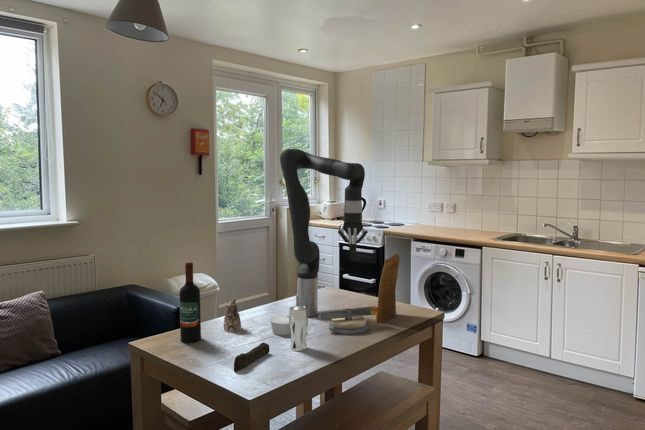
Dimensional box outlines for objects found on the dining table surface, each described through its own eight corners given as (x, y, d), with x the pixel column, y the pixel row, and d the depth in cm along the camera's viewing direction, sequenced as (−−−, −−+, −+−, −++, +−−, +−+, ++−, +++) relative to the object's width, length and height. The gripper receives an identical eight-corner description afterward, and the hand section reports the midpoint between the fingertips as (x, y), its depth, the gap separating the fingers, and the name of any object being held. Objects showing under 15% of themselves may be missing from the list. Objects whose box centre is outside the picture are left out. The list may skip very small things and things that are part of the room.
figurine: (219, 330, 197) (219, 301, 196) (230, 325, 204) (230, 297, 202) (233, 333, 194) (233, 303, 193) (244, 327, 200) (244, 299, 199)
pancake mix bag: (403, 314, 219) (404, 253, 217) (384, 325, 204) (385, 260, 201) (390, 312, 223) (390, 252, 221) (370, 322, 207) (371, 258, 205)
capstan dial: (314, 321, 202) (314, 307, 202) (369, 316, 210) (369, 302, 210) (325, 332, 189) (325, 316, 189) (383, 326, 197) (383, 311, 196)
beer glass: (305, 352, 173) (305, 311, 172) (286, 351, 174) (286, 310, 173) (309, 345, 180) (309, 306, 179) (291, 344, 181) (291, 305, 180)
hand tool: (260, 352, 174) (260, 339, 174) (270, 353, 172) (269, 341, 172) (227, 371, 157) (227, 357, 157) (237, 373, 155) (236, 359, 155)
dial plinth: (326, 333, 193) (326, 329, 193) (332, 321, 209) (332, 317, 209) (365, 335, 190) (365, 331, 190) (369, 323, 206) (369, 319, 206)
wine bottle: (204, 337, 188) (203, 261, 186) (193, 344, 181) (191, 265, 179) (188, 335, 191) (186, 260, 188) (176, 341, 184) (174, 264, 181)
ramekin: (303, 331, 196) (303, 319, 195) (283, 338, 188) (283, 325, 187) (285, 325, 204) (285, 313, 203) (264, 332, 195) (264, 319, 195)
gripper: (369, 210, 202) (369, 251, 204) (338, 210, 205) (338, 250, 207) (368, 212, 195) (367, 254, 197) (335, 211, 198) (335, 253, 199)
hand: (352, 252), depth 202 cm, fingers closed
